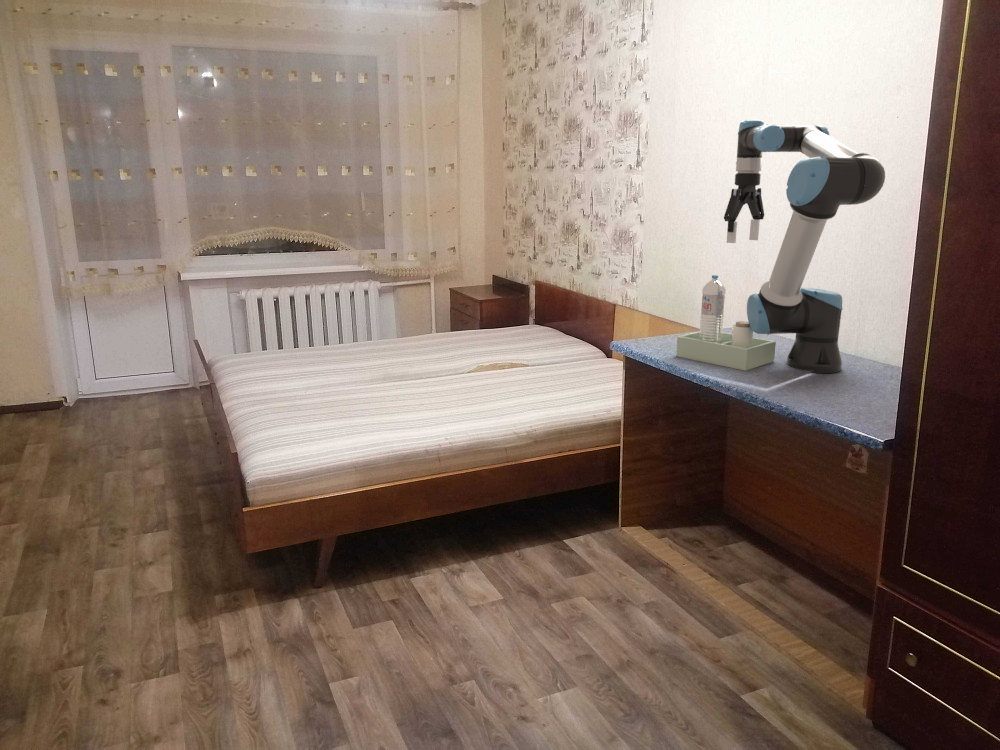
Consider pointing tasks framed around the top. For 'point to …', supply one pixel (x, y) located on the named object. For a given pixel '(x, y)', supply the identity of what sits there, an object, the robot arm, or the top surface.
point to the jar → (742, 335)
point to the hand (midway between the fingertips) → (742, 241)
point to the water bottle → (712, 311)
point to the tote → (726, 351)
